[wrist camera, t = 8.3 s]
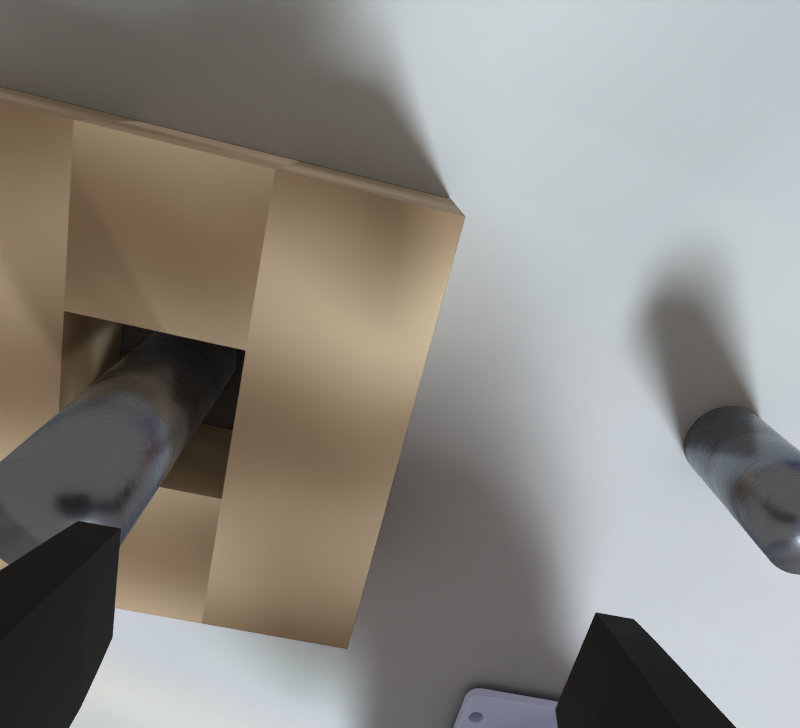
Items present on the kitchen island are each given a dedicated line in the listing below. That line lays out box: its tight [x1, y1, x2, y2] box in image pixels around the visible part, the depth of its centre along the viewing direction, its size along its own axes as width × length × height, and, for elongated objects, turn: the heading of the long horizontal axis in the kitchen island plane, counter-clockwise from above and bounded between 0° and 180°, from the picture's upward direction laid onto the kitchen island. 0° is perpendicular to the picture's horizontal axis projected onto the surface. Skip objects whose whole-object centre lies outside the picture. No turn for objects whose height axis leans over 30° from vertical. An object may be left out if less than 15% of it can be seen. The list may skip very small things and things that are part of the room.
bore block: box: [0, 87, 465, 649], centre depth 16 cm, size 12×12×4 cm
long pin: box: [0, 331, 237, 564], centre depth 14 cm, size 2×2×8 cm
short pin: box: [684, 407, 800, 575], centre depth 17 cm, size 2×2×4 cm
